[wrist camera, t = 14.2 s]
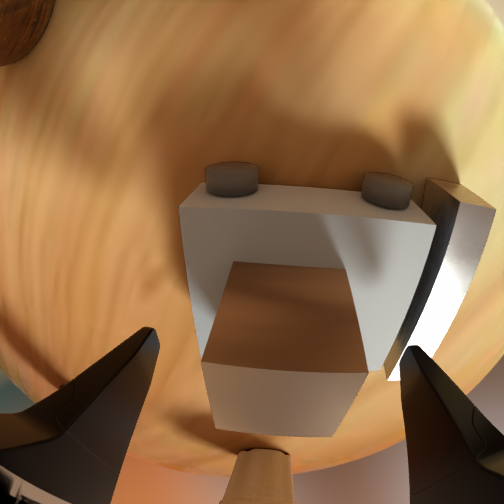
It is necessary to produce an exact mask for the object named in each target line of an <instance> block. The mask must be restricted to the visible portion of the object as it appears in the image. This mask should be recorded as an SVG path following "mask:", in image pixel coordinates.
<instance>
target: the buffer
mask: <svg viewBox="0 0 504 504" xmlns="http://www.w3.org/2000/svg"><path fill="white" fill-rule="evenodd" d="M421 210H422V211H423V212H424V213H425V214H426V215H427V216H428V217H429V218H430V219H431V220H432V221H433V222H434V223H435V224H436V225H437V226H436V229H435V233H434V237H433V240H432V243H431V247H430V250H429V253H428V256H427V259H426V263H425V266H424V269H423V271H422V274H421V277H420V280H419V283H418V285H417V288H416V291H415V293H414V296H413V299H412V301H411V304H410V306H409V309H408V311H407V313H406V316H405V318H404V321H403V323H402V325H401V327H400V330H399V332H398V334H397V336H396V338H395V341H394V343H393V345H392V347H391V349H390V351H389V353H388V355H387V357H386V359H385V361H384V363H383V364H384V368H385V373H386V378H387V381H394V380H400V371H399V362H400V359H401V357H402V355H403V353H404V351H405V349H406V347H407V346H408V345H419V346H420V347H421V348H422V349H423V350H424V351H425V352H426V353H427V354H428V355H429V356H430V357H431V358H432V356H433V355H434V353H435V351H436V350H437V348H438V346H439V344H440V343H441V341H442V339H443V337H444V336H445V334H446V332H447V330H448V328H449V326H450V325H451V323H452V321H453V319H454V317H455V315H456V313H457V311H458V309H459V307H460V305H461V303H462V301H463V299H464V296H465V294H466V292H467V290H468V288H469V285H470V283H471V281H472V278H473V276H474V273H475V271H476V268H477V266H478V263H479V261H480V258H481V255H482V253H483V250H484V247H485V244H486V241H487V238H488V235H489V232H490V229H491V226H492V223H493V219H494V216H495V212H496V209H495V208H494V207H493V206H491V205H490V204H488V203H487V202H486V201H484V200H483V199H482V198H480V197H479V196H477V195H476V194H475V193H473V192H472V191H470V190H469V189H467V188H466V187H464V186H463V185H461V184H457V183H453V182H448V181H443V180H438V179H433V178H428V177H427V182H426V187H425V192H424V197H423V202H422V206H421Z"/></svg>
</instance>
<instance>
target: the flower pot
mask: <svg viewBox="0 0 504 504" xmlns="http://www.w3.org/2000/svg"><path fill="white" fill-rule="evenodd" d="M219 504H295V500H294V490H293V477H292V466H291V457H290V455H285V454H284V453H282V452H281V451H277V450H269V449H252V450H251V451H245V450H243V451H241V452H240V453H239V454H238V457H237V460H236V463H235V466H234V469H233V472H232V475H231V478H230V481H229V483H228V486H227V489H226V492H225V494H224V497H223V500H221V501H220V502H219Z"/></svg>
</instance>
